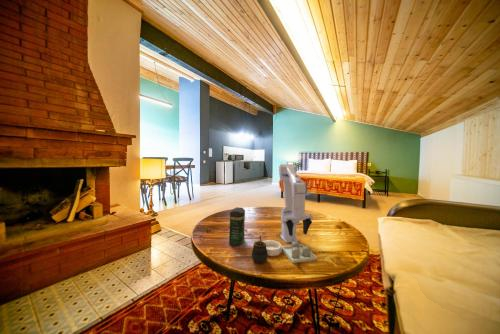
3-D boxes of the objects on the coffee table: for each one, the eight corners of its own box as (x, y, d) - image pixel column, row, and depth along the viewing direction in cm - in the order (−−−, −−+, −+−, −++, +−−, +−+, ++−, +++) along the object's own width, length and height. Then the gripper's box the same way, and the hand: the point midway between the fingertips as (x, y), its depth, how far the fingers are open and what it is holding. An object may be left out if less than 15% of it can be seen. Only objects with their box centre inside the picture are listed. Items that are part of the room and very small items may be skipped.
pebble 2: (300, 254, 89) (301, 246, 89) (307, 253, 90) (307, 245, 90) (304, 258, 86) (305, 249, 86) (311, 257, 87) (312, 249, 86)
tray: (280, 249, 95) (281, 246, 95) (302, 247, 98) (302, 244, 98) (292, 263, 82) (292, 260, 82) (316, 260, 85) (316, 256, 85)
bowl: (258, 246, 97) (258, 241, 97) (276, 244, 100) (276, 239, 100) (264, 256, 88) (264, 250, 88) (284, 254, 90) (284, 248, 90)
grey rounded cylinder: (290, 249, 94) (290, 241, 94) (297, 248, 95) (297, 241, 95) (293, 253, 90) (294, 244, 90) (300, 252, 91) (300, 244, 91)
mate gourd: (252, 265, 80) (252, 242, 80) (250, 256, 88) (250, 235, 88) (269, 264, 81) (269, 242, 81) (265, 256, 89) (266, 235, 88)
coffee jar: (241, 246, 97) (242, 211, 96) (227, 245, 99) (227, 210, 98) (246, 238, 107) (246, 206, 106) (232, 237, 108) (233, 205, 107)
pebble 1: (290, 255, 88) (290, 247, 88) (297, 254, 89) (297, 246, 89) (293, 259, 84) (293, 251, 84) (300, 258, 85) (301, 250, 85)
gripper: (288, 210, 85) (287, 239, 85) (316, 208, 88) (315, 236, 89) (282, 206, 91) (281, 233, 92) (308, 204, 95) (307, 230, 96)
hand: (297, 234), depth 91 cm, fingers open, 7 cm apart
